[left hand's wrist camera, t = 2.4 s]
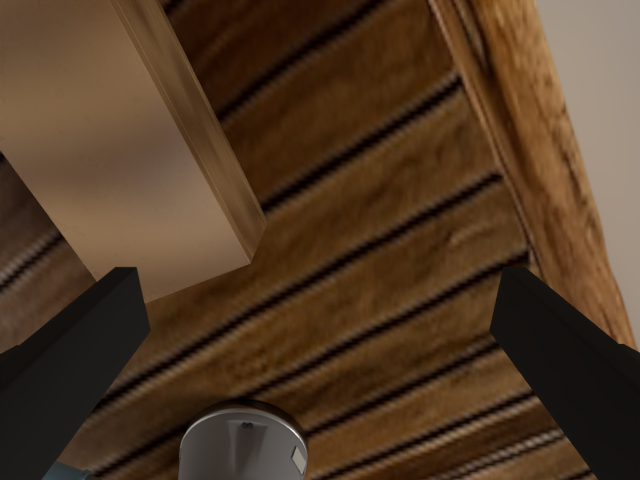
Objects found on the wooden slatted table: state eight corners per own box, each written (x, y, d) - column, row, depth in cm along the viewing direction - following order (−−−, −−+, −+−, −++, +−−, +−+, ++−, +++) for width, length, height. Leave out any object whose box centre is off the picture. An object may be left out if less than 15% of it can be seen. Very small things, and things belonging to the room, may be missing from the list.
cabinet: (29, 45, 27) (-94, 24, 19) (149, -19, 25) (70, -72, 17) (167, 262, 34) (119, 313, 26) (268, 222, 32) (250, 263, 24)
